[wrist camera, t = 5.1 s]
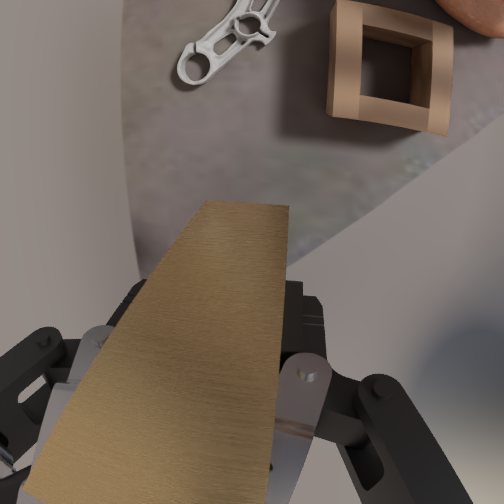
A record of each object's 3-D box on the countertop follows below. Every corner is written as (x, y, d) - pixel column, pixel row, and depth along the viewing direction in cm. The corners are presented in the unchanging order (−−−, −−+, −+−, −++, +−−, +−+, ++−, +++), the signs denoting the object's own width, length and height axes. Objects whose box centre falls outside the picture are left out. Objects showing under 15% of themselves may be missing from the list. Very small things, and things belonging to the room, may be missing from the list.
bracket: (148, 42, 24) (276, -50, 18) (157, 45, 25) (278, -43, 19) (195, 97, 26) (330, 4, 20) (201, 96, 27) (328, 9, 22)
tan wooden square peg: (206, 200, 15) (22, 489, 3) (289, 205, 15) (255, 568, 3) (208, 270, 17) (100, 536, 5) (283, 277, 17) (249, 573, 4)
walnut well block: (329, 14, 22) (336, -2, 17) (430, 35, 21) (453, 27, 16) (325, 113, 26) (332, 116, 22) (425, 129, 25) (447, 137, 21)
